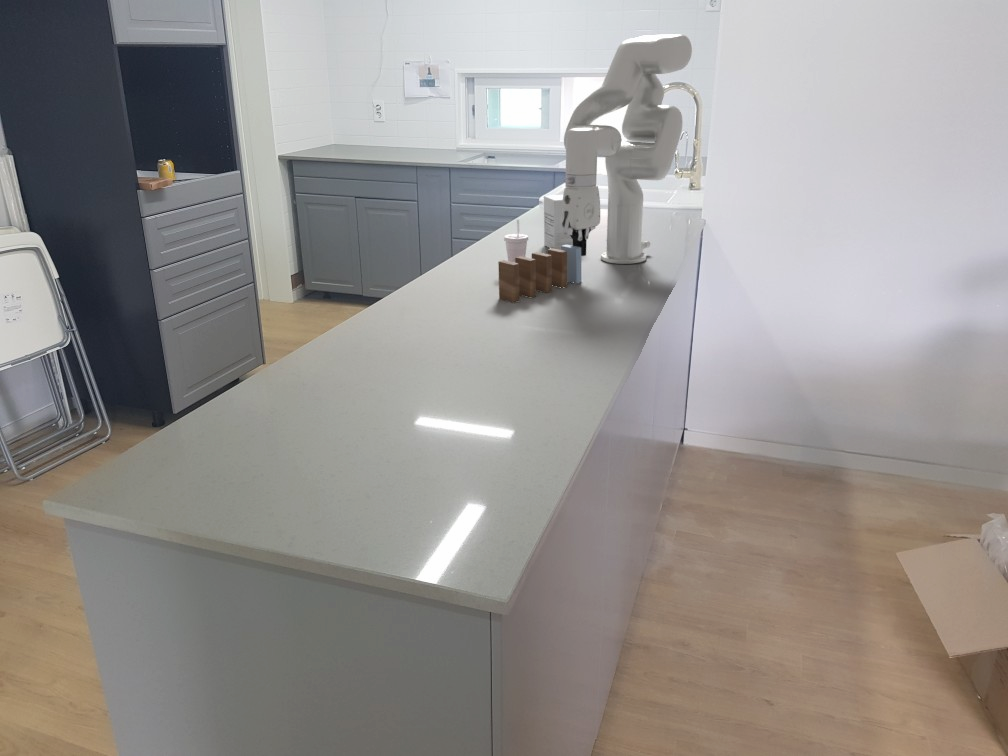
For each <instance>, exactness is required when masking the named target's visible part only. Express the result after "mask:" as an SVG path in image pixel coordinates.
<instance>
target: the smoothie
mask: <svg viewBox="0 0 1008 756" xmlns="http://www.w3.org/2000/svg"><path fill="white" fill-rule="evenodd" d="M503 237H504V239H503V240H504V242H505V246H506V247H505V248H506V253H507V254H506V257H507V261H510V262H514V263H515V257H519V256H523V257H527V256H526V255H527V246H528V245H527V244H528V241H529V235H527V234H525V233H520V219H516V233H511V234H505V235H504V236H503Z"/></svg>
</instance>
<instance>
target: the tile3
mask: <svg viewBox="0 0 1008 756" xmlns="http://www.w3.org/2000/svg"><path fill="white" fill-rule="evenodd" d="M531 258H532V259H536V291H537V290H539V291H538V292H540V291H542V293H544V292H546V294H548V293H547V292H549V293H551V292H550V291H552V289H553V286H552V255H548V254H547V253H543V252H538V251H535V252H532V253H531Z"/></svg>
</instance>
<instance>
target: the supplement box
mask: <svg viewBox="0 0 1008 756" xmlns="http://www.w3.org/2000/svg"><path fill="white" fill-rule="evenodd" d="M562 201H563V194H556V195H555V194H554V195H545V196H543V224H544V225H543V226H544V227H543V228H544V229H543V232H544V233H543V237H544V239H543V240H544V241H543V246H544V247H546V246H547V248H548V247H549V248H548V249H550V248H554V249H559V250H561V246H563V245H566V244H567V245H572V246H573V240H572V239H571V236H570V235H567V234H564V227H563V226H562V220H561V216H562ZM576 232H577V231H576Z"/></svg>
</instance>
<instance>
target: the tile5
mask: <svg viewBox="0 0 1008 756" xmlns="http://www.w3.org/2000/svg"><path fill="white" fill-rule="evenodd" d="M497 264H498V294H499V297H498V299H499V300H502V301H506V302H510V303H512V304H513V303H514V304H515V303H517V302H518V301H519V302H520V295H519V264H518V263H514V262H510V261H508V260H504V259H503V260H500V261H498V263H497Z"/></svg>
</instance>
